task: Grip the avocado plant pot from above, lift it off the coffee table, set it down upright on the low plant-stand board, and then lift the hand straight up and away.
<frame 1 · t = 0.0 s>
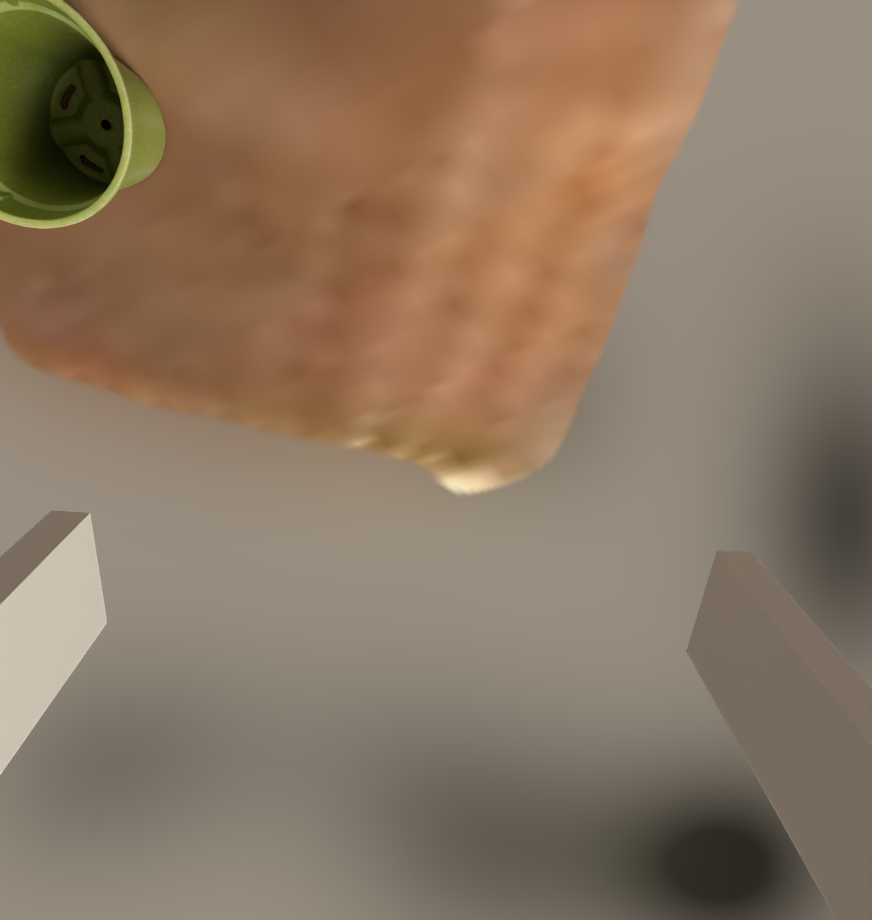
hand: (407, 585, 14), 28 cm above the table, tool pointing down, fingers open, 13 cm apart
plant pot: (110, 124, 35), on the table
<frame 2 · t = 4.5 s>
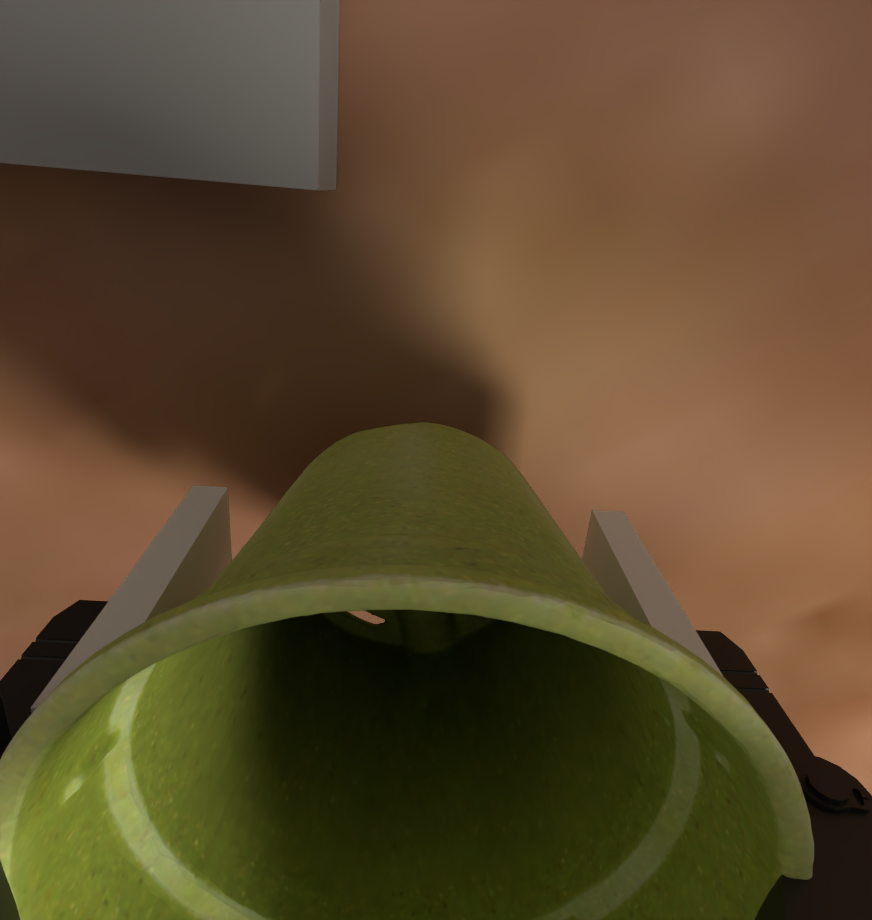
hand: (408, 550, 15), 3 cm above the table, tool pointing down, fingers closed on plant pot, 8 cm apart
plant pot: (409, 531, 15), point 3 cm above the table, touching gripper
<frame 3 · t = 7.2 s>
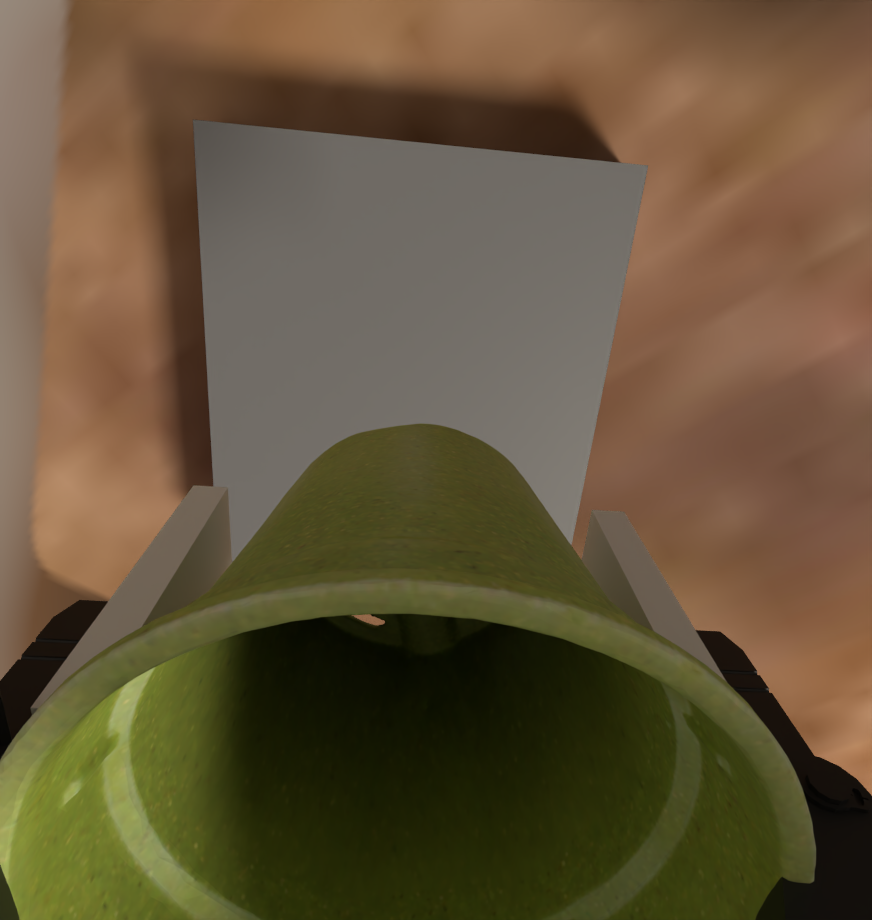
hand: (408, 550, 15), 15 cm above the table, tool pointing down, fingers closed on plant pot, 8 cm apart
plant pot: (409, 533, 15), point 15 cm above the table, touching gripper
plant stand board: (408, 368, 29), on the table
when the fingers open (4 cm above the table, at t = 10.2 s): plant pot stays where it is, resting on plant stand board.
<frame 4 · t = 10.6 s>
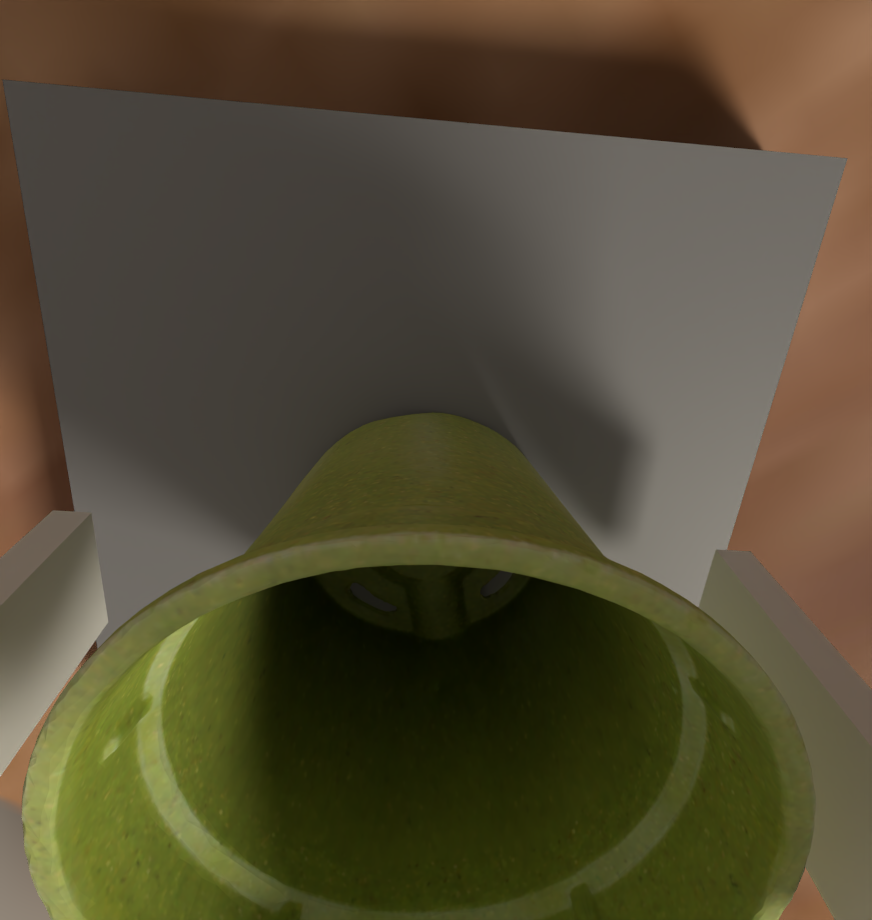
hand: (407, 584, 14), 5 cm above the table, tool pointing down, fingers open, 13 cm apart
plant pot: (420, 520, 16), point 3 cm above the table, touching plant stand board
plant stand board: (410, 479, 18), on the table
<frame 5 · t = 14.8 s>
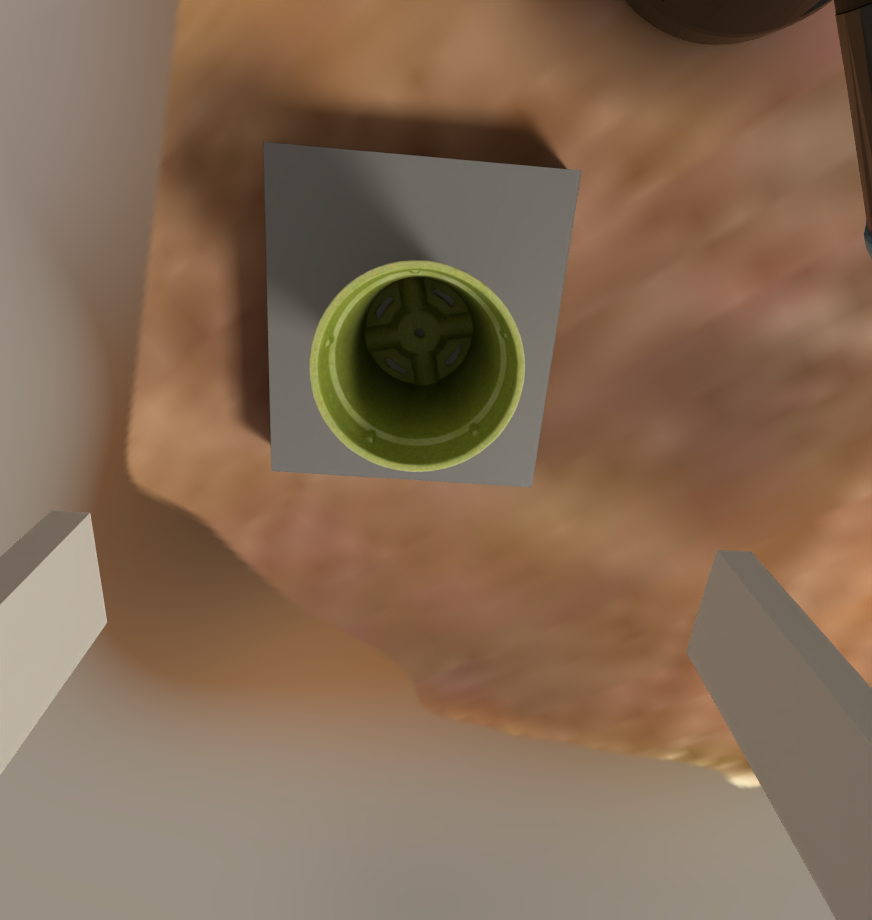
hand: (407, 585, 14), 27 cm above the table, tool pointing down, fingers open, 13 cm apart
plant pot: (417, 329, 36), point 3 cm above the table, touching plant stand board
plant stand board: (413, 322, 38), on the table
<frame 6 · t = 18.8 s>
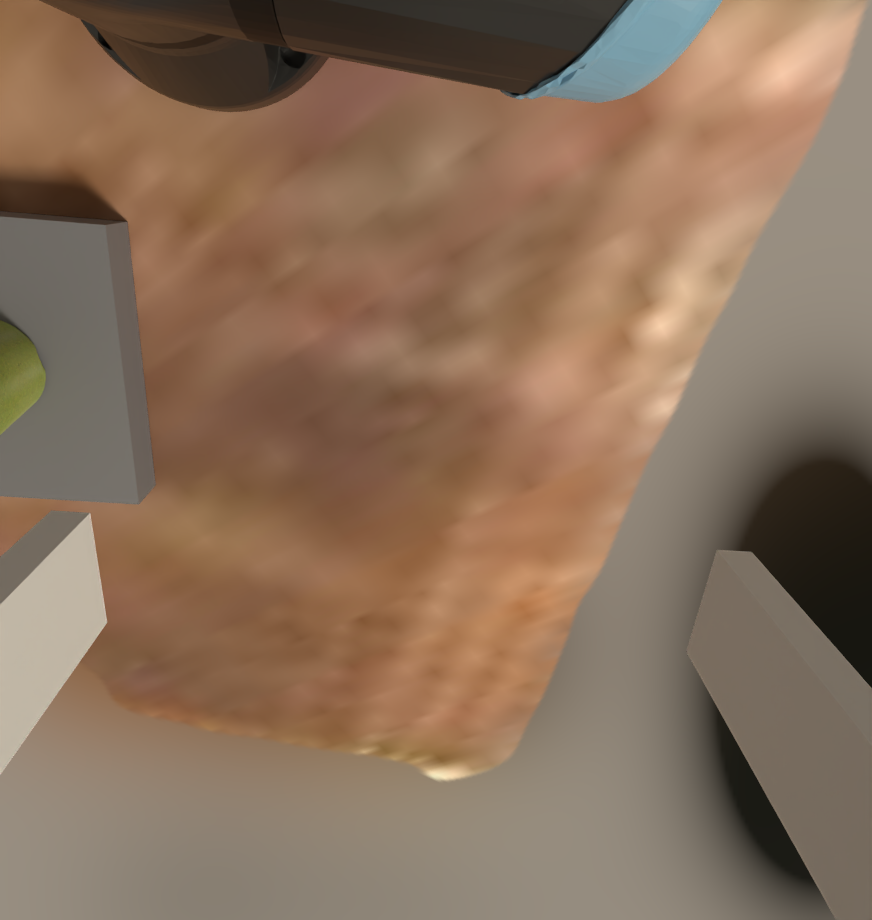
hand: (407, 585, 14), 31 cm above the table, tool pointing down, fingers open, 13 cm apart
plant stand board: (19, 355, 42), on the table
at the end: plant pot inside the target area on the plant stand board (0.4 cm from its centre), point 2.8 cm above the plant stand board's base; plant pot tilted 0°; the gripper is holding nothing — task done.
